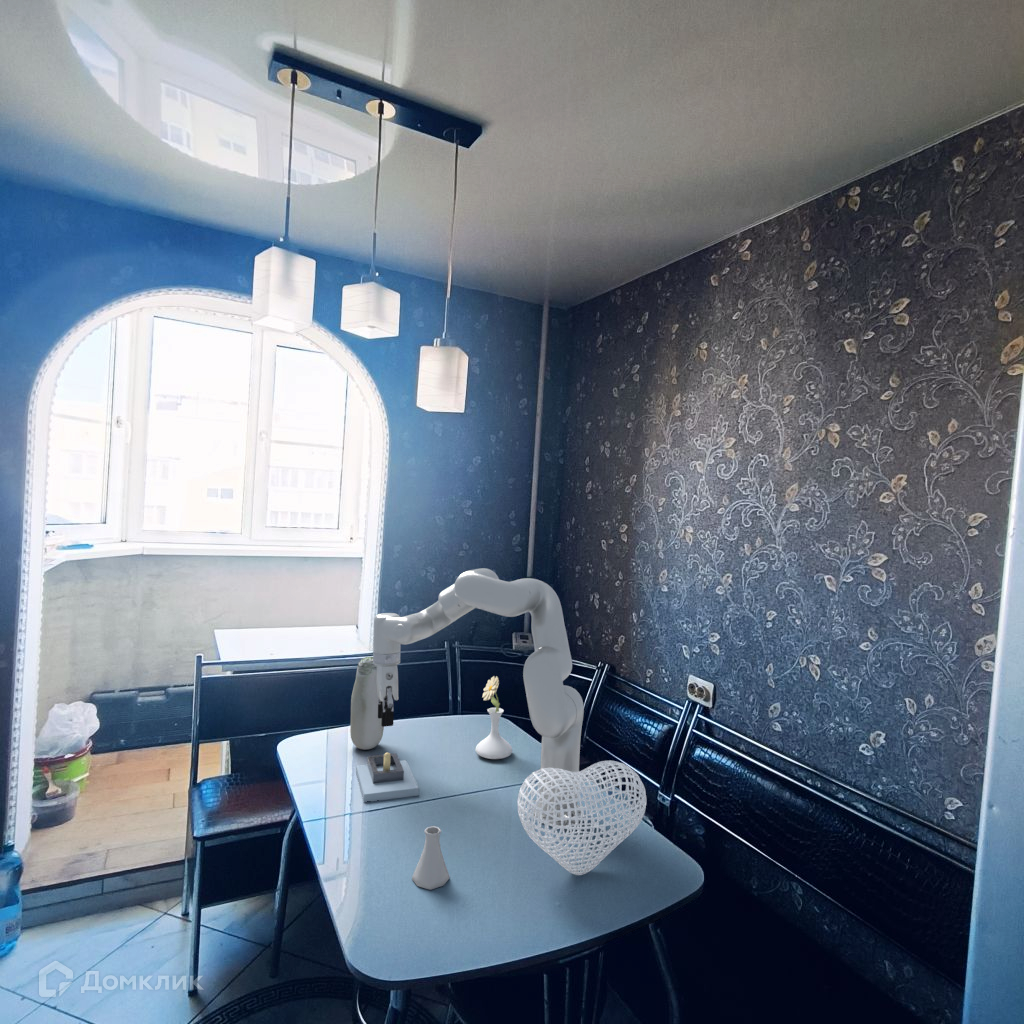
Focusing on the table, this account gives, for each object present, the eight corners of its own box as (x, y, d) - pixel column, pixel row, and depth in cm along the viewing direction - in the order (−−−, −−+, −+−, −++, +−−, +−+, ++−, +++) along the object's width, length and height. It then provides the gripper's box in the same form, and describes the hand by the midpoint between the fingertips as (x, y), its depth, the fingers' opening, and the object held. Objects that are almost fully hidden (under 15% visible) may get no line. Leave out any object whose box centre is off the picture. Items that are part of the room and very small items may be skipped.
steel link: (403, 780, 164) (403, 770, 164) (373, 783, 161) (373, 774, 161) (395, 762, 175) (396, 753, 175) (367, 765, 172) (367, 756, 172)
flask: (431, 864, 129) (433, 817, 129) (456, 878, 125) (458, 829, 125) (405, 879, 124) (407, 830, 124) (430, 895, 119) (432, 843, 119)
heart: (531, 909, 116) (536, 792, 116) (503, 864, 130) (508, 760, 130) (658, 883, 126) (662, 775, 126) (619, 843, 140) (623, 746, 140)
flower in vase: (476, 747, 194) (480, 667, 194) (513, 749, 193) (516, 669, 193) (472, 764, 181) (476, 679, 181) (511, 766, 180) (514, 681, 180)
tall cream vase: (350, 742, 193) (354, 653, 193) (383, 741, 195) (387, 653, 195) (348, 754, 184) (351, 661, 183) (382, 753, 186) (386, 661, 185)
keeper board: (418, 795, 160) (419, 763, 160) (363, 802, 155) (364, 769, 155) (405, 767, 177) (406, 738, 177) (355, 772, 172) (357, 742, 172)
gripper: (405, 664, 166) (404, 730, 166) (394, 650, 182) (393, 711, 182) (377, 666, 163) (376, 733, 163) (369, 651, 179) (367, 713, 179)
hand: (385, 721), depth 173 cm, fingers open, 6 cm apart
